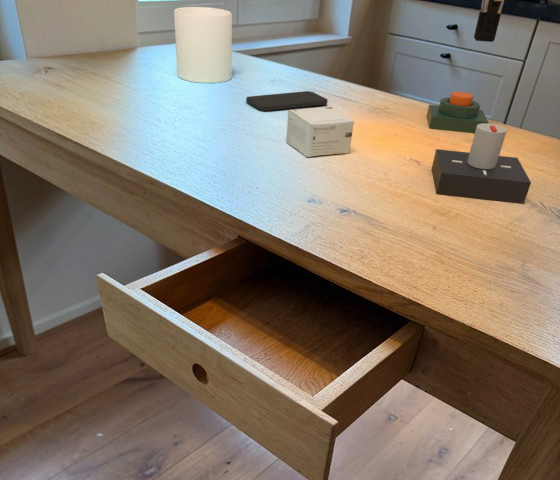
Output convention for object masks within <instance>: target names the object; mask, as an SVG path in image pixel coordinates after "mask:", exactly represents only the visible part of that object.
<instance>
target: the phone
mask: <svg viewBox="0 0 560 480" xmlns="http://www.w3.org/2000/svg"><path fill="white" fill-rule="evenodd" d="M245 102H246V103H247V104H249V105H250V106H252V107H254V108H256V109H257V110H258V111H263V112H265V111H267V112H269V111H276V110H277V111H278V110H286V109H287V110H289V109H295V108H296V109H298V108H308V107H315V106H324V105H327V104H328V98H326V97H324V96H322V95H320V94H318V93H316V92H314V91H309V90H303V91H294V92H293V91H292V92H283V93H282V92H281V93H271V94H262V95H251V96H246V97H245Z"/></svg>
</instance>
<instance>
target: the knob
mask: <svg viewBox="0 0 560 480" xmlns="http://www.w3.org/2000/svg"><path fill="white" fill-rule="evenodd" d="M507 132H508V129H507V128H506V127H504V126H502V125H498V124H495V123H489V122H488V123H483V124H478V125H477V127H476V131H475V133H473V138H472V141H471V146H470V149H469V152H468V153H469V157H468V160H467V163H468V164H469V165H470V166H472V167H475V168H479V169H494V168H495V167H496V164H497V161H498V158H499V156H501V151H502V148H503V144H504V141H505V138H506V135H507Z"/></svg>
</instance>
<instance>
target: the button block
mask: <svg viewBox="0 0 560 480" xmlns="http://www.w3.org/2000/svg"><path fill="white" fill-rule="evenodd" d="M449 100H450V97H444V98H441V99H440V101H439V105H437V104H436V105H435V104H428V106H427V107H428V108H427V113H426V121H427V125H428V129H429V130H438V131H446V132H457V133H466V134H467V133H468V134H475V131H476V127H477V125H478V124H483V123H488V124H489V121H488V119H487V116H486V115H485V113H484V111H483V109H480V108H481V105H480V103H479V102H477V101H475V100H474V99H473V100H472V104H471V106H458V105H454V104H451V103H449Z"/></svg>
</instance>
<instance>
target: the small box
mask: <svg viewBox="0 0 560 480" xmlns="http://www.w3.org/2000/svg"><path fill="white" fill-rule="evenodd" d="M354 123H355V121H354V119H352V118H351V117H350V116H348V115H346V114H344V113H342V112H340V111H338V110H337V109H336V108H333V107H331V106H326V107H325V106H324V107H323V106H322V107H305V108H296V109H295V108H294V109H287V123H286V138H285V141H286V143H287V144H288V145H290V146H291V147H292V148H293V149H295V150H296V151H298V152H299V153H301V154H302V155H303V156H304V157H305V158H310V157H318V156H328V155H340V154H341V155H342V154H345V155H346V154H350V152H351V144H352V137H353V131H354Z"/></svg>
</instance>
